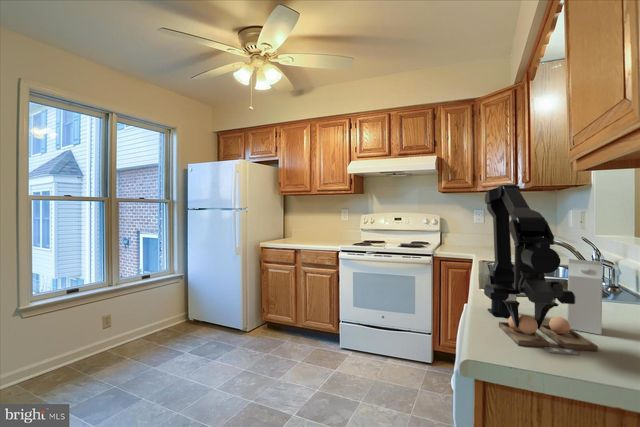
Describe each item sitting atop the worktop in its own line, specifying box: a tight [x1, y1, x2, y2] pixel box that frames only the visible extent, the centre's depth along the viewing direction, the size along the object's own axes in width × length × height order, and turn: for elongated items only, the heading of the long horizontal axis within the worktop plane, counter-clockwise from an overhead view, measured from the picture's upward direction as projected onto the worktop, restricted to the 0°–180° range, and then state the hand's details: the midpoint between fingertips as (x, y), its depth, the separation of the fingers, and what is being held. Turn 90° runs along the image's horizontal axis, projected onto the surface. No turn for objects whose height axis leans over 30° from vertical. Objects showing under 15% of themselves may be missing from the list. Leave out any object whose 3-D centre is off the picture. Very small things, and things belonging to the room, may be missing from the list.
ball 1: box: [507, 314, 523, 331], centre depth 86 cm, size 4×4×4 cm
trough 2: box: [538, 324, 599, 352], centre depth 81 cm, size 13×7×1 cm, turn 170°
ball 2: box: [518, 314, 538, 334], centre depth 80 cm, size 4×4×4 cm
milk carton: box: [566, 258, 603, 335], centre depth 89 cm, size 7×7×19 cm
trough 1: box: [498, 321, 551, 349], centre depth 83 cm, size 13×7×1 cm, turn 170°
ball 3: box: [548, 316, 570, 334], centre depth 84 cm, size 4×4×4 cm
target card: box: [543, 346, 580, 356], centre depth 74 cm, size 2×6×1 cm, turn 80°
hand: (527, 327), depth 81 cm, fingers closed on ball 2, 4 cm apart
